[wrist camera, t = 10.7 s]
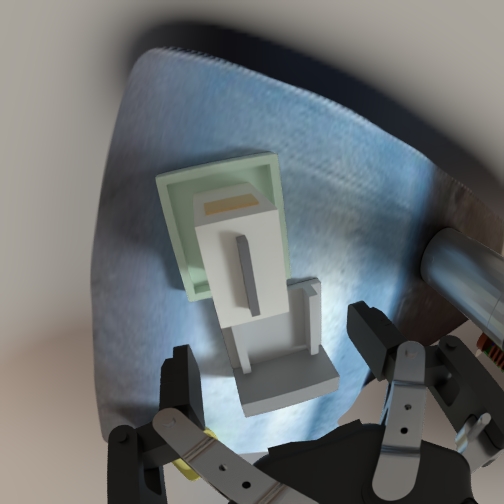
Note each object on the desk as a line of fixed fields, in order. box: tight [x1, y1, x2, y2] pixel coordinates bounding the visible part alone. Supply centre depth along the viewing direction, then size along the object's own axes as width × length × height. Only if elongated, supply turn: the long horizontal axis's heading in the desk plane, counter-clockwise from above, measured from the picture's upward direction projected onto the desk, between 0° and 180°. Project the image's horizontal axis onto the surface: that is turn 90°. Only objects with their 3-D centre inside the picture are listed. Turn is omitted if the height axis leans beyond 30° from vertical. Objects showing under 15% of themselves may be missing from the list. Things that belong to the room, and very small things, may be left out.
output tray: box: [155, 152, 291, 302], centre depth 27 cm, size 11×13×2 cm
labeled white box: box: [193, 182, 289, 329], centre depth 23 cm, size 5×8×10 cm, turn 8°
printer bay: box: [215, 278, 340, 417], centre depth 32 cm, size 12×13×7 cm
